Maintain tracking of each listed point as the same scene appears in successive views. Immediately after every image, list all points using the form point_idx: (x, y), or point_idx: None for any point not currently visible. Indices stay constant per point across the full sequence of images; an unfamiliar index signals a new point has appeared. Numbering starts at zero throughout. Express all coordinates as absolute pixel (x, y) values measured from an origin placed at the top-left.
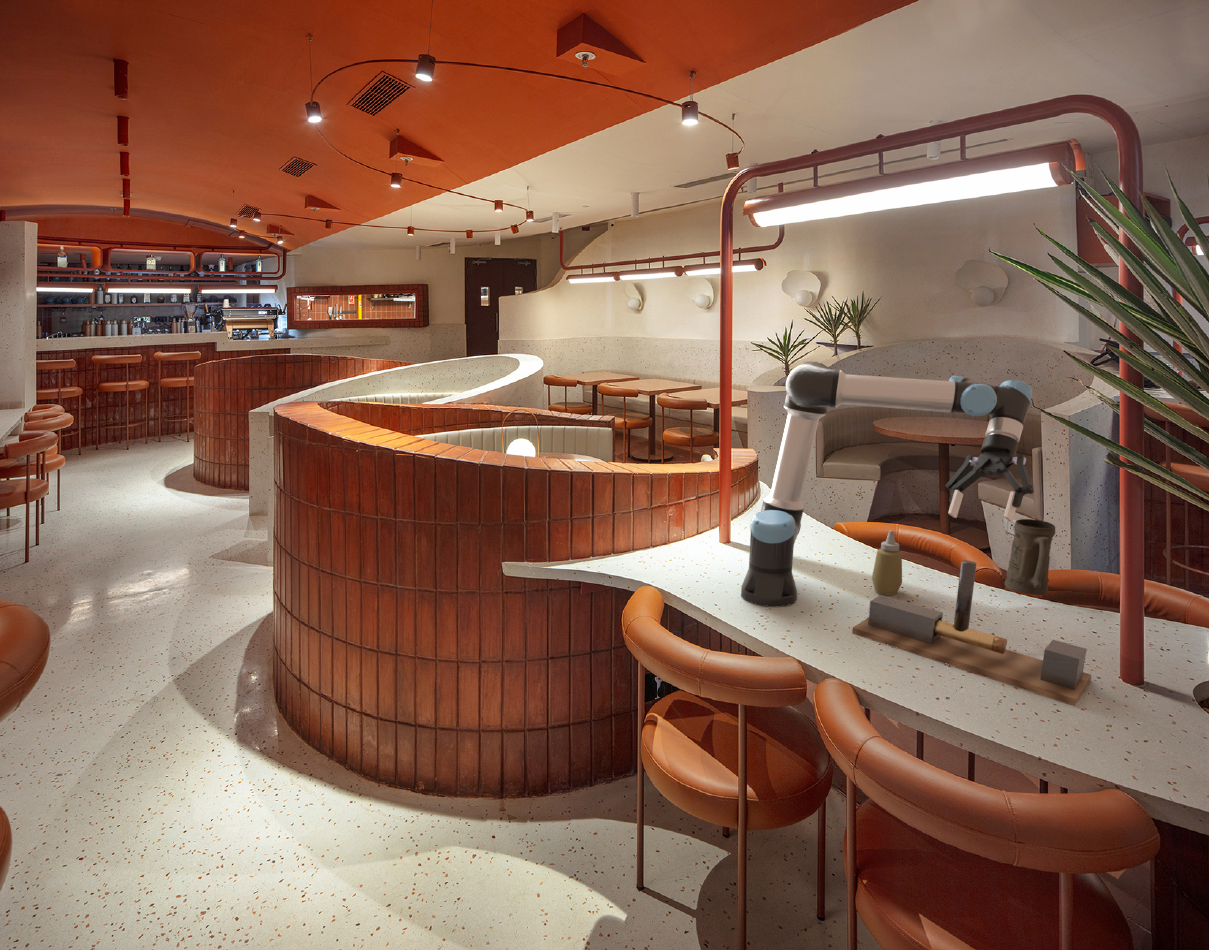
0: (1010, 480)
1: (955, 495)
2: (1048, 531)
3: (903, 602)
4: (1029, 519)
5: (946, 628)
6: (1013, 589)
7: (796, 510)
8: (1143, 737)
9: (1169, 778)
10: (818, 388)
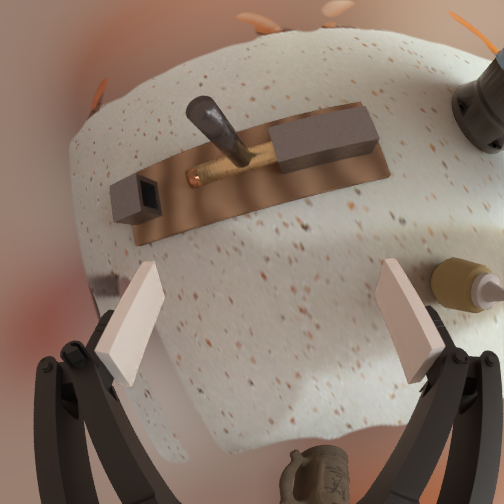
0: (104, 422)
1: (422, 321)
2: None
3: (338, 142)
4: None
5: (256, 145)
6: (329, 445)
7: None
8: (92, 183)
9: (78, 149)
10: None
